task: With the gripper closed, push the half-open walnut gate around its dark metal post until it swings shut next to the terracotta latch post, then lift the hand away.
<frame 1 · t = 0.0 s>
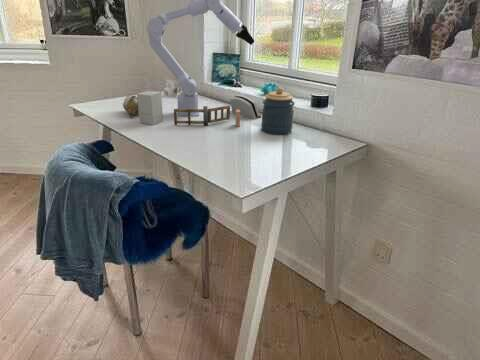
hand: (252, 42, 156), 32 cm above the table, fingers open, 7 cm apart
ceramic sculpture: (136, 114, 165), on the table
fence: (189, 125, 151), on the table
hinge: (244, 115, 170), on the table
latch post: (237, 125, 153), on the table
gate: (219, 114, 154), point 4 cm above the table, hinge at 35.0°
canister: (276, 130, 149), on the table
supplement box: (151, 122, 154), on the table
hinge post: (205, 125, 152), on the table
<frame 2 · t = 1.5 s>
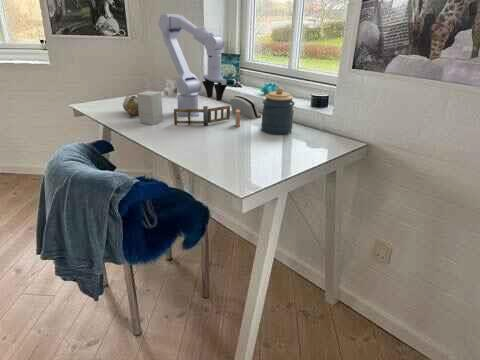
hand: (214, 98, 156), 9 cm above the table, fingers open, 6 cm apart
nothing on the table moved.
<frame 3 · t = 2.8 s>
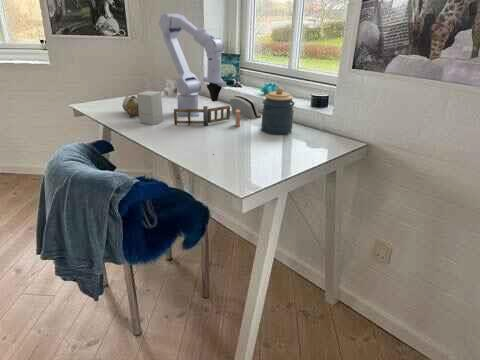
hand: (214, 101, 156), 8 cm above the table, fingers closed
nothing on the table moved.
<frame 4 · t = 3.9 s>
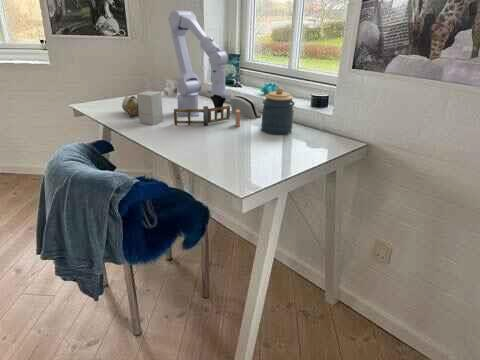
hand: (218, 112, 156), 4 cm above the table, fingers closed
gate: (219, 114, 154), point 4 cm above the table, hinge at 35.0°, touching gripper
everything else where it was.
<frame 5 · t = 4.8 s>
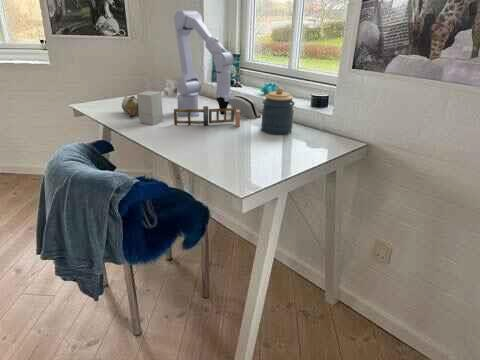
hand: (223, 114, 154), 4 cm above the table, fingers closed
gate: (221, 115, 153), point 4 cm above the table, hinge at 15.3°, touching gripper
everything else where it was.
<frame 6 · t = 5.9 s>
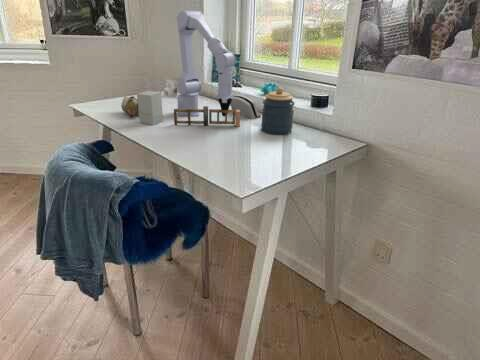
hand: (224, 115, 152), 4 cm above the table, fingers closed
gate: (222, 116, 151), point 4 cm above the table, hinge at -1.2°, touching gripper
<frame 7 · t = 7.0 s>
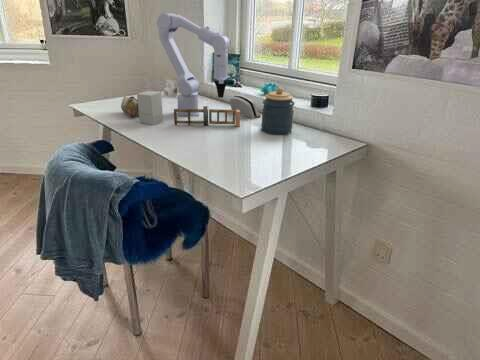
hand: (220, 97, 159), 9 cm above the table, fingers closed
gate: (222, 116, 151), point 4 cm above the table, hinge at -1.3°
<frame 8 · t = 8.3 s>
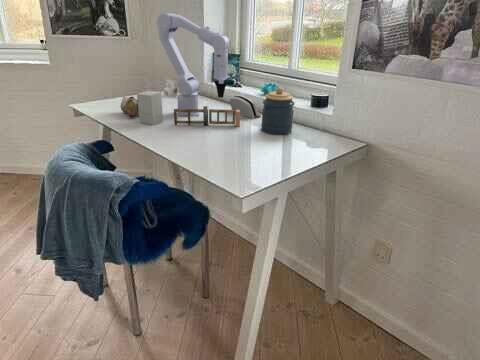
hand: (220, 97, 159), 9 cm above the table, fingers closed
at the end: gate at -1° (first picture: +35°); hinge moved 0.6 cm from its start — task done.
